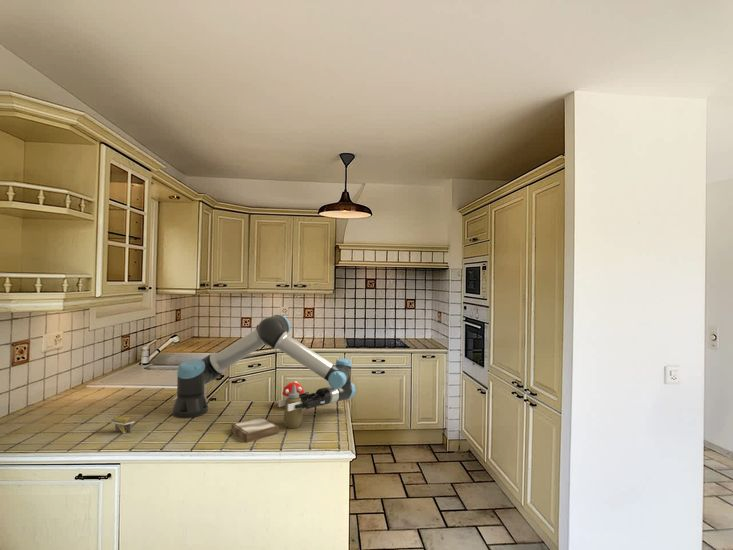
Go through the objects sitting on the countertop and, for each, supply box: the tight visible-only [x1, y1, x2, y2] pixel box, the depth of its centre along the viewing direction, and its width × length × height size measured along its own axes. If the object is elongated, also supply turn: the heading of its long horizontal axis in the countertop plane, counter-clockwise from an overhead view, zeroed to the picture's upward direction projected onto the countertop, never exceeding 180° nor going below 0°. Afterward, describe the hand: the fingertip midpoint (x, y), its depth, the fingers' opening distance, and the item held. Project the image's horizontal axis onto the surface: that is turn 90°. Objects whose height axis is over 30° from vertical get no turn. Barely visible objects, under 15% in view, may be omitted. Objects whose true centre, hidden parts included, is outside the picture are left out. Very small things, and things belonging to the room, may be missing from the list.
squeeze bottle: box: [283, 385, 303, 429], centre depth 178 cm, size 8×8×18 cm
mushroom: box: [281, 380, 305, 399], centre depth 204 cm, size 11×11×12 cm
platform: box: [111, 415, 135, 434], centre depth 167 cm, size 12×18×7 cm, turn 73°
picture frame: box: [230, 416, 279, 443], centre depth 170 cm, size 14×14×3 cm
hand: (283, 405), depth 174 cm, fingers closed on squeeze bottle, 6 cm apart
